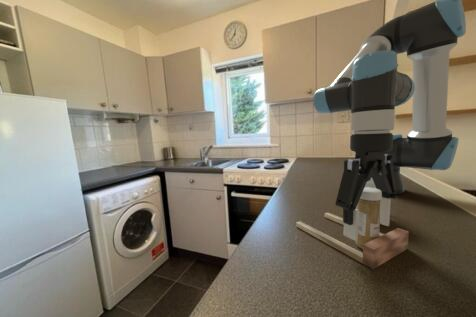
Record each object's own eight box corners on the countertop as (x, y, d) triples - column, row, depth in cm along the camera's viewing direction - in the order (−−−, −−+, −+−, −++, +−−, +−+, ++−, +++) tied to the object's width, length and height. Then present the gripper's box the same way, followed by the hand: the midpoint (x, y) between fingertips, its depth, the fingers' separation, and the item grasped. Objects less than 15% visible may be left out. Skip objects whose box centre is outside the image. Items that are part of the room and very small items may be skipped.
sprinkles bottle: (381, 253, 42) (385, 192, 40) (357, 250, 43) (359, 191, 42) (375, 242, 46) (378, 186, 44) (353, 239, 48) (355, 185, 46)
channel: (327, 215, 61) (327, 203, 61) (407, 248, 43) (408, 231, 43) (296, 226, 56) (296, 212, 55) (373, 269, 37) (374, 249, 37)
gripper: (382, 131, 50) (378, 212, 53) (316, 135, 39) (316, 237, 42) (420, 129, 43) (413, 223, 46) (353, 134, 33) (349, 255, 36)
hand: (367, 230), depth 44 cm, fingers open, 11 cm apart
